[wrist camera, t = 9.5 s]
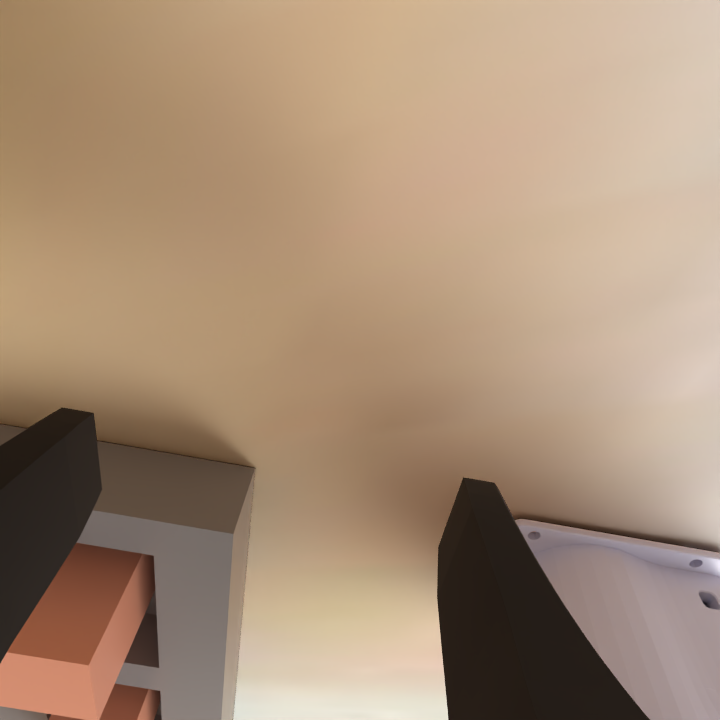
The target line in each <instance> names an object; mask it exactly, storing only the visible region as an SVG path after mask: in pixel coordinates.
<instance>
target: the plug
mask: <svg viewBox="0 0 720 720" xmlns="http://www.w3.org/2000/svg"><path fill="white" fill-rule="evenodd" d="M154 591H155V570H154V556H153V555H147V554H141V553H135V552H129V551H123V550H117V549H111V548H105V547H100V546H94V545H88V544H82V543H76V544H75V546H74V547H73V549H72V551H71V552H70V554H69V555H68V557H67V558H66V560H65V562H64V563H63V565H62V566H61V568H60V570H59V571H58V573H57V574H56V576H55V577H54V579H53V581H52V582H51V584H50V585H49V587H48V588H47V590H46V591H45V593H44V595H43V596H42V598H41V599H40V601H39V602H38V604H37V605H36V607H35V609H34V610H33V612H32V613H31V615H30V616H29V618H28V620H27V621H26V623H25V624H24V626H23V627H22V629H21V630H20V632H19V634H18V635H17V637H16V638H15V640H14V641H13V643H12V644H11V646H10V648H9V650H8V651H7V653H6V655H5V656H4V658H3V660H2V661H1V663H0V706H2V707H9V708H15V709H21V710H27V711H34V712H40V713H46V714H52V715H59V716H65V717H71V718H77V719H84V720H99V719H100V717H101V714H102V712H103V710H104V707H105V705H106V703H107V700H108V698H109V696H110V694H111V691H112V689H113V687H114V684H115V682H116V680H117V677H118V675H119V673H120V670H121V668H122V666H123V663H124V661H125V659H126V656H127V654H128V652H129V649H130V647H131V645H132V642H133V640H134V638H135V635H136V633H137V631H138V629H139V626H140V624H141V622H142V619H143V617H144V615H145V612H146V610H147V608H148V605H149V603H150V601H151V598H152V596H153V594H154Z"/></svg>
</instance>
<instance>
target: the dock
mask: <svg viewBox="0 0 720 720" xmlns="http://www.w3.org/2000/svg"><path fill="white" fill-rule="evenodd" d="M24 430H26V428H20V427H14V426H8V425H3V424H0V445H2V444H4V443H5V442H7V441H8V440H10V439H12V438H13V437H15V436H16V435H18V434H20V433H21V432H23V431H24ZM97 447H98V456H99V465H100V474H101V483H102V491H101V493H100V495H99V498H98V500H97V502H96V504H95V506H94V509H93V511H92V513H91V515H90V517H89V519H88V521H87V523H86V525H85V527H84V529H83V532H82V534H81V536H80V538H79V539H78V541H77V542H76V543H82V544H88V545H94V546H100V547H105V548H111V549H117V550H123V551H129V552H135V553H141V554H147V555H153V556H154V570H155V591H154V594H153V596H152V598H151V601H150V603H149V605H148V608H147V610H146V612H145V615H144V617H143V619H142V622H141V624H140V626H139V629H138V631H137V633H136V635H135V638H134V640H133V642H132V645H131V647H130V649H129V652H128V654H127V656H126V659H125V661H124V663H123V666H122V668H121V670H120V673H119V675H118V677H117V680H116V682H115V684H114V687H113V689H112V691H111V694H110V696H109V698H108V700H107V703H106V705H105V707H104V710H103V712H102V714H101V717H100V719H99V720H233V715H234V704H235V693H236V681H237V670H238V658H239V647H240V635H241V624H242V613H243V601H244V590H245V578H246V567H247V555H248V544H249V532H250V521H251V510H252V498H253V487H254V475H255V468H251V467H246V466H240V465H234V464H228V463H222V462H217V461H211V460H205V459H199V458H194V457H188V456H182V455H176V454H170V453H165V452H159V451H153V450H147V449H141V448H136V447H130V446H124V445H118V444H113V443H107V442H101V441H97ZM0 720H84V719H77V718H71V717H65V716H59V715H52V714H46V713H40V712H34V711H27V710H21V709H15V708H9V707H2V706H0Z"/></svg>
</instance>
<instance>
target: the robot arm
mask: <svg viewBox="0 0 720 720" xmlns="http://www.w3.org/2000/svg"><path fill="white" fill-rule="evenodd" d="M101 491H102V483H101V474H100V465H99V456H98V447H97V438H96V429H95V420H94V413H90V412H84V411H79V410H73V409H67V408H61V409H59V410H57V411H55V412H54V413H52V414H50V415H49V416H47V417H45V418H44V419H42V420H41V421H39V422H37V423H36V424H34V425H32V426H31V427H29V428H28V429H26V430H24V431H23V432H21V433H20V434H18V435H16V436H15V437H13V438H12V439H10V440H8V441H7V442H5V443H4V444H2V445H0V663H1V661H2V660H3V658H4V656H5V655H6V653H7V651H8V650H9V648H10V646H11V644H12V643H13V641H14V640H15V638H16V637H17V635H18V634H19V632H20V630H21V629H22V627H23V626H24V624H25V623H26V621H27V620H28V618H29V616H30V615H31V613H32V612H33V610H34V609H35V607H36V605H37V604H38V602H39V601H40V599H41V598H42V596H43V595H44V593H45V591H46V590H47V588H48V587H49V585H50V584H51V582H52V581H53V579H54V577H55V576H56V574H57V573H58V571H59V570H60V568H61V566H62V565H63V563H64V562H65V560H66V558H67V557H68V555H69V554H70V552H71V551H72V549H73V547H74V546H75V544H76V542H77V541H78V539H79V538H80V536H81V534H82V532H83V529H84V527H85V525H86V523H87V521H88V519H89V517H90V515H91V513H92V511H93V509H94V506H95V504H96V502H97V500H98V498H99V495H100V493H101ZM532 531H536V532H532ZM437 599H438V611H439V622H440V633H441V644H442V654H443V665H444V675H445V686H446V696H447V707H448V718H449V720H720V553H718V552H712V551H706V550H701V549H695V548H689V547H683V546H677V545H672V544H666V543H660V542H654V541H648V540H643V539H637V538H631V537H625V536H620V535H614V534H608V533H602V532H596V531H591V530H585V529H579V528H573V527H567V526H562V525H556V524H550V523H544V522H538V521H533V520H527V519H518V520H514V518H513V516H512V514H511V512H510V510H509V508H508V507H507V505H506V503H505V501H504V499H503V497H502V495H501V493H500V491H499V489H498V488H497V486H496V485H495V483H492V482H486V481H481V480H475V479H469V478H463V480H462V483H461V486H460V488H459V491H458V494H457V497H456V500H455V502H454V505H453V508H452V511H451V513H450V516H449V519H448V522H447V525H446V527H445V530H444V533H443V536H442V538H441V541H440V544H439V547H438V588H437Z"/></svg>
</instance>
